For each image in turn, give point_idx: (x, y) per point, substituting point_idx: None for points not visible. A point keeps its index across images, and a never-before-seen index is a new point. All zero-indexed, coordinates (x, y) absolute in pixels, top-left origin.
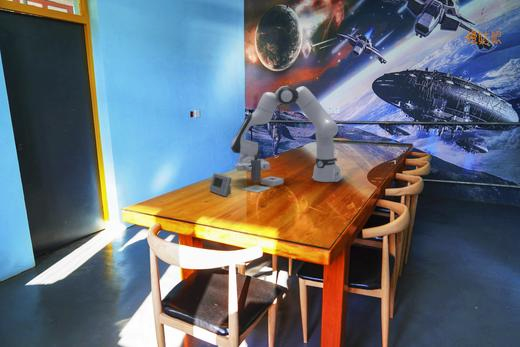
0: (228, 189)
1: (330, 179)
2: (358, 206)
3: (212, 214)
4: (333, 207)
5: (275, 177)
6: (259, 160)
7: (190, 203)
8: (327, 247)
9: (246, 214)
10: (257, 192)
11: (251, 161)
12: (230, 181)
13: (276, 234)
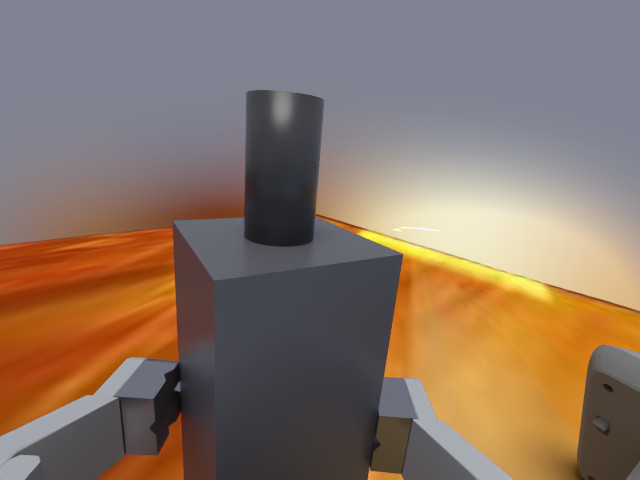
0: (580, 431)
1: None
2: (91, 238)
3: (521, 301)
4: (155, 248)
5: None
6: (217, 222)
7: None
8: None
9: (411, 279)
10: None
11: (385, 278)
12: (586, 377)
13: (361, 233)
